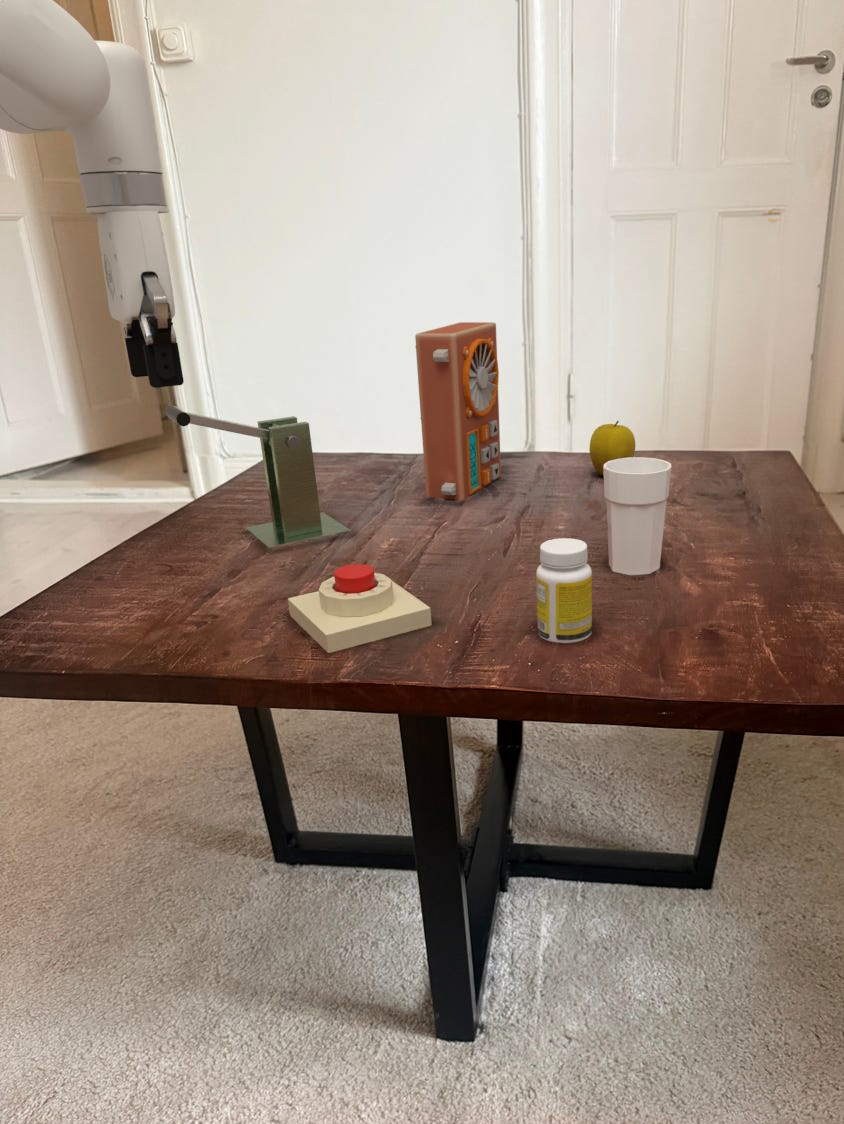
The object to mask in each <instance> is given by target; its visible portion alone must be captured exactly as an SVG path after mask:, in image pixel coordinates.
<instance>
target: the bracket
mask: <svg viewBox="0 0 844 1124" xmlns="http://www.w3.org/2000/svg"><path fill="white" fill-rule="evenodd" d="M272 424H277V425H280V426H273V427H272ZM257 427H259V428H263V429H268V430H269V434H270V441H271V445H269V440H268V439H263V438H259V441H260V448H261V455H262V463H263V467H264V474H265V482H266V488H267V495H268V502H269V503H268V504H269V508H270V514H271V516H270V517H271V522H266V523H261V524H256V525H251V526H246V527H245V529H246V530H247V531H249V532H250V533H251V534H252V535H253V536H255V538H257V540H259V541H260V542H261V543H263V544H264V545H265V546H266V547H267V548H273V547H279V546H282V545H287V544H288V545H289V544H292V543H296V542H302V541H306V540H311V539H316V538H321V537H326V536H331V535H336V534H340V533H345V532H350V531H351V529H350V528H348V527H346V526H345V525H344V524H342V523H341V522H339V521H337V520H336V519H335V518H333V517H331V516H330V515H329V514H327V513H326V512H324V511H323V512H321V510H320V501H319V493H318V486H317V478H316V477H317V476H316V469H315V461H314V453H313V446H312V445H313V444H312V438H311V430H310V429H311V427H310V423H309V422H307V421H301V422H298V417H296V416H294V415H293V416H287V417H280V418H279V417H278V418H273V419H266V420H265V419H264V420H259V421H257Z"/></svg>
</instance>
